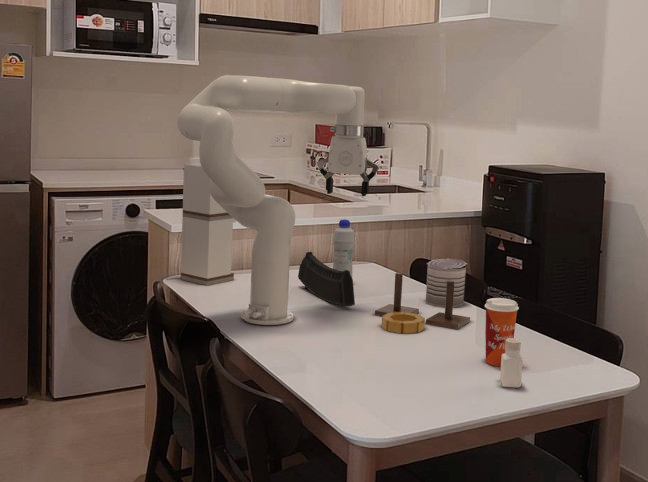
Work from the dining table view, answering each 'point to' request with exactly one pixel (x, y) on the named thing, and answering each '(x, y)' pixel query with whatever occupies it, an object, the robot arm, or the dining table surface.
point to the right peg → (448, 312)
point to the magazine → (326, 281)
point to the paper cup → (499, 327)
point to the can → (445, 281)
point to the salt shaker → (511, 364)
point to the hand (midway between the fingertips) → (346, 194)
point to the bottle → (343, 246)
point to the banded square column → (204, 232)
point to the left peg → (396, 300)
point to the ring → (403, 322)
